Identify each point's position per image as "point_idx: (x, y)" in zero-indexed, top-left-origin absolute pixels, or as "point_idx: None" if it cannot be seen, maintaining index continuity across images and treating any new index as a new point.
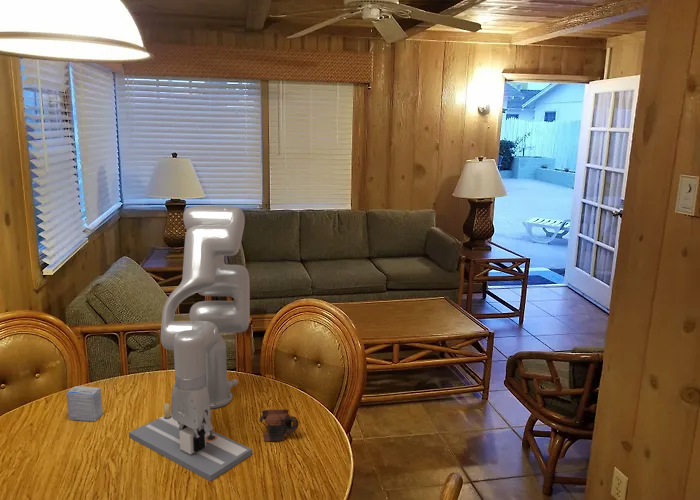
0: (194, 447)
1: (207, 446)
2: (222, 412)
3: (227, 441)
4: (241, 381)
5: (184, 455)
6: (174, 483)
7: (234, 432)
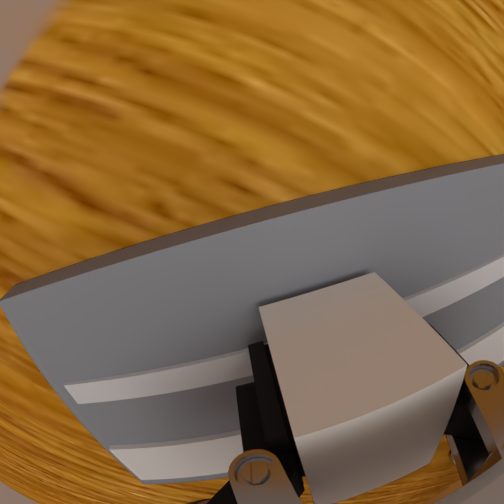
0: (257, 366)
1: None
2: None
3: None
4: None
5: (297, 268)
6: (85, 99)
7: None
